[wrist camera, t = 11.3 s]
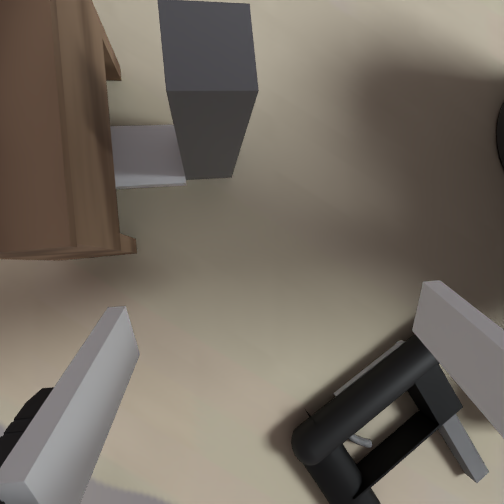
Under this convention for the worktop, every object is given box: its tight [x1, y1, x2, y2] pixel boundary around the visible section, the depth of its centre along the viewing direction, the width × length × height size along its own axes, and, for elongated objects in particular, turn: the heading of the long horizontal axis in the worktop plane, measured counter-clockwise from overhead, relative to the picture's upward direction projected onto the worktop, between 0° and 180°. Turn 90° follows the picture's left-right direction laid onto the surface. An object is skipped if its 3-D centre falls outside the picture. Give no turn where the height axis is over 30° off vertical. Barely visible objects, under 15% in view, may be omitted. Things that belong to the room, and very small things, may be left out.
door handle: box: [291, 334, 489, 504], centre depth 27 cm, size 3×20×16 cm
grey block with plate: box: [110, 0, 258, 189], centre depth 18 cm, size 16×5×13 cm, turn 96°
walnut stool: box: [0, 0, 137, 260], centre depth 18 cm, size 6×16×13 cm, turn 6°
